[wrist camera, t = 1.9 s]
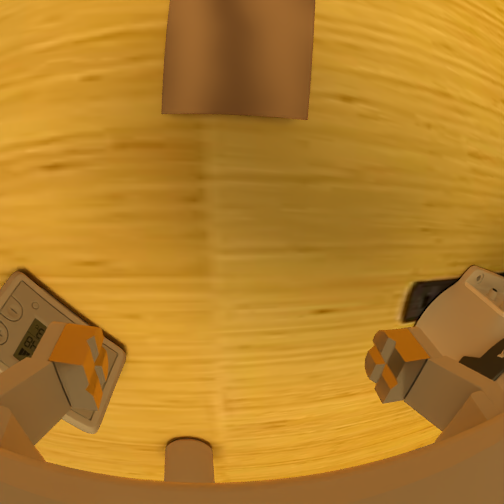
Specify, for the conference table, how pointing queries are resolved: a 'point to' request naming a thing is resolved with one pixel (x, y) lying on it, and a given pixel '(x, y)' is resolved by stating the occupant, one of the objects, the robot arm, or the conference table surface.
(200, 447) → the can
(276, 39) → the block
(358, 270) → the conference table surface
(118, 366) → the digital clock
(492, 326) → the robot arm
